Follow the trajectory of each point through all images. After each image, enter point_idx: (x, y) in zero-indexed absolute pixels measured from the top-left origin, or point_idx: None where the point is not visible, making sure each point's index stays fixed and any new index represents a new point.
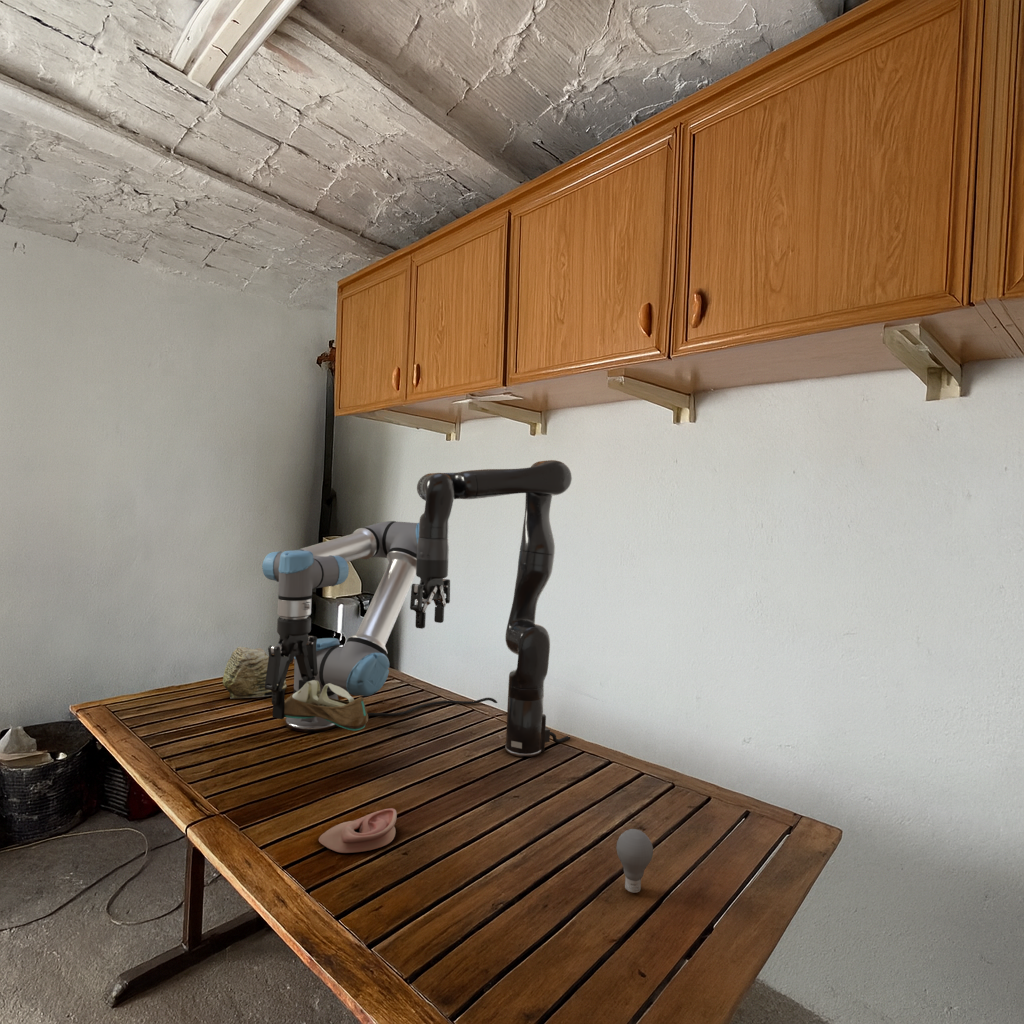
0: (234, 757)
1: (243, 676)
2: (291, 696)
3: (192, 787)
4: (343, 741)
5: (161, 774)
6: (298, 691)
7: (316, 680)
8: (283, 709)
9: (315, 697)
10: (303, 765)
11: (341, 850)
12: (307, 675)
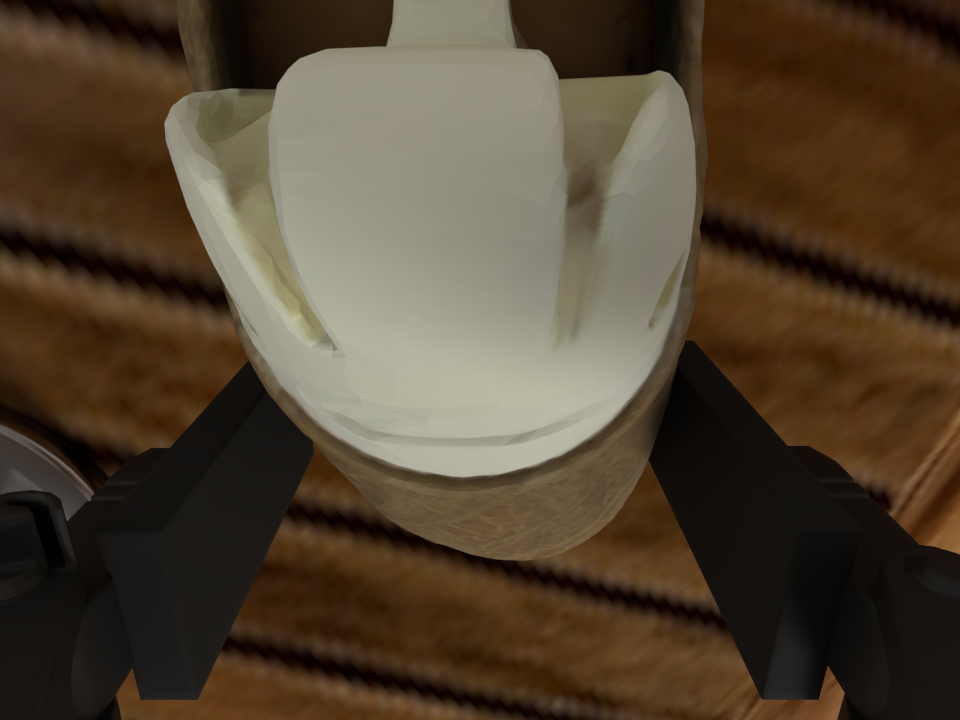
0: None
1: None
2: (617, 429)
3: (925, 461)
4: (38, 202)
5: None
6: (623, 349)
7: (204, 176)
8: (703, 380)
9: (454, 24)
10: None
11: None
12: (66, 656)
